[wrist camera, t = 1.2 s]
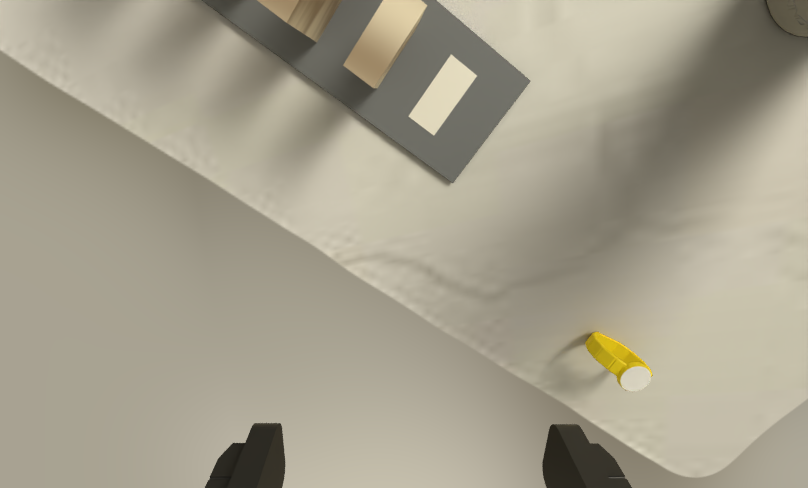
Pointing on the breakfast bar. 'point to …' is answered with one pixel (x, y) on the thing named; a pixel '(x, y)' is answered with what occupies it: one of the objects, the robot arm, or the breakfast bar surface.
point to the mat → (401, 77)
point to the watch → (619, 362)
